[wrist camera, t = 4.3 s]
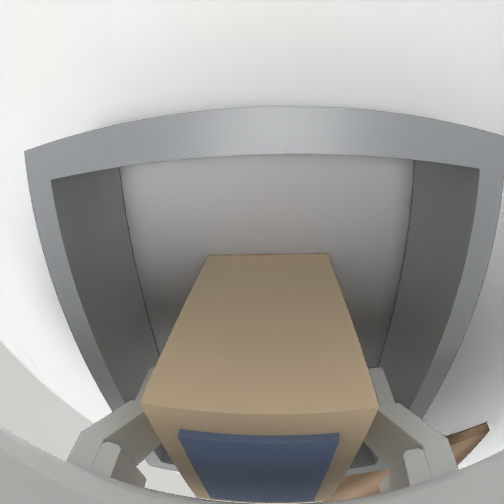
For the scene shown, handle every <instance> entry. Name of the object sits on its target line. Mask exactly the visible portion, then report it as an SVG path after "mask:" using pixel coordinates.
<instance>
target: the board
mask: <svg viewBox="0 0 504 504" xmlns="http://www.w3.org/2000/svg"><path fill="white" fill-rule="evenodd" d="M489 431H490V429H489V427H488V425H487V423H484V424H482V425H479V426H476V427H474V428H471V429H468V430H466V431H463V432H460V433H457V434H454V435H451V436H448V437H446V438H447V439H448V441H449V444H450V446H451V449H452V452H453V455H454V458H455V461H456V464H457V465H458V464H459V463H460V462H461V461H462V460H463V459H464V458H465V457H466V456H467V455H468V454H469V453H470V452H471V451H472V450H473V449H474V448H475V447H476V446H477V445H478V443H479V442H480V441H481V440H482V439H483V438H484V437H485V435H486V434H487V433H488V432H489ZM389 472H390V470H389V469H388V468H387V469H384V470H379V471H373V472H367V473H361V474H354V475H347V476H344V478H343V479H342V481H341V483H340V484H339V486H338V488H337V489H336V491H335V492H334V494H333V496H332V497H331V499H330V500H329V501H337V500H344V499H352V498H358V497H364V496H370V495H375V494H380V488H379V484H380V483H381V482H382V481H383V479H384V478H385V477H386V476H387V475H388V473H389ZM324 502H327V501H324Z"/></svg>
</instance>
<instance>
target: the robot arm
mask: <svg viewBox="0 0 504 504" xmlns="http://www.w3.org/2000/svg"><path fill="white" fill-rule="evenodd" d="M154 368H155V366H152V367H151V368H150V369H149V371H148V373H147V375H146V377H145V380H144V382H143V384H142V386H141V388H140V390H139V393H138V395H137V397H136V399H135V401H134V400H130V401H129V402H127V403H126V404H124V405H123V406H121V407H120V408H118V409H117V410H115V411H114V412H112V413H110V414H109V415H107V416H106V417H104V418H103V419H101V420H99V421H98V422H96V423H95V424H93V425H92V426H90V427H88V428H87V429H85V430H83V431H82V432H81V433H80V435H79V437H78V439H77V441H76V443H75V445H74V447H73V449H72V451H71V453H70V455H69V457H68V459H67V461H66V460H63V459H61V458H59V457H57V456H54V455H53V454H51V453H49V452H47V451H45V450H43V449H41V448H39V447H37V446H35V445H33V444H31V443H29V442H27V441H26V440H24V439H22V438H20V437H19V436H17V435H15V434H13V433H12V432H10V431H8V430H7V429H5V428H4V427H2V426H0V504H250V503H234V502H223V501H214V500H205V499H199V498H192V497H186V496H180V495H175V494H170V493H165V492H160V491H156V490H152V489H148V488H144V486H145V482H146V478H145V476H144V475H143V474H142V473H141V472H140V471H139V470H138V468H137V467H136V466H137V465H138V464H139V463H140V462H141V461H142V460H144V459H145V458H146V457H147V456H148V455H149V454H150V453H151V452H153V451H154V450H155V449H156V448H157V447H158V446H159V445H160V444H161V441H160V439H159V438H158V436H157V434H156V432H155V431H154V429H153V427H152V425H151V423H150V421H149V419H148V418H147V416H146V414H145V412H144V410H143V408H142V406H141V404H140V400H141V398H142V396H143V393H144V391H145V389H146V386H147V384H148V382H149V380H150V377H151V375H152V373H153V371H154ZM368 371H369V374H370V377H371V380H372V384H373V387H374V390H375V394H376V397H377V401H378V404H379V409H378V411H377V413H376V415H375V418H374V420H373V422H372V424H371V426H370V428H369V430H368V433H367V435H366V437H365V439H364V441H363V442H364V443H365V444H366V445H367V446H368V447H369V448H370V449H371V450H372V451H373V452H374V454H375V455H376V456H377V457H378V458H379V459H380V460H381V461H382V462H383V463H384V464H385V465H386V466H387V467H388V469H389V470H390V472H389V473H388V475H387V476H386V477H385V478H384V479H383V481H382V482H381V483H380V484H379V488H380V494H375V495H370V496H364V497H358V498H352V499H344V500H337V501H327V502H316V503H300V504H504V450H502V451H500V452H498V453H496V454H494V455H492V456H490V457H488V458H486V459H484V460H481V461H479V462H477V463H475V464H472V465H470V466H468V467H465V468H463V469H460V470H458V467H457V464H456V461H455V458H454V455H453V452H452V449H451V446H450V444H449V441H448V439H447V438H446V437H445V436H443V435H442V434H440V433H439V432H438V431H436V430H435V429H434V428H432V427H431V426H430V425H428V424H427V423H426V422H424V421H423V420H421V419H420V418H419V417H417V416H416V415H415V414H413V413H412V412H411V411H409V410H408V409H407V408H405V407H404V406H403V405H401V404H400V403H395V401H394V399H393V396H392V393H391V390H390V387H389V384H388V381H387V379H386V376H385V373H384V371H383V369H382V368H381V367H378V368H369V369H368Z"/></svg>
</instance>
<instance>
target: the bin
mask: <svg viewBox="0 0 504 504" xmlns="http://www.w3.org/2000/svg"><path fill="white" fill-rule="evenodd" d="M24 154H25V163H26V171H27V178H28V184H29V191H30V196H31V202H32V207H33V212H34V216H35V221H36V225H37V230H38V234H39V238H40V242H41V246H42V249H43V253H44V256H45V260H46V263H47V266H48V270H49V273H50V276H51V279H52V282H53V285H54V288H55V291H56V294H57V297H58V299H59V302H60V305H61V307H62V310H63V313H64V315H65V318H66V320H67V323H68V325H69V327H70V330H71V332H72V334H73V337H74V339H75V341H76V343H77V346H78V348H79V350H80V352H81V354H82V356H83V358H84V360H85V362H86V364H87V366H88V368H89V370H90V372H91V374H92V376H93V378H94V380H95V382H96V384H97V386H98V387H99V389H100V391H101V393H102V395H103V396H104V398H105V400H106V402H107V403H108V405H109V407H110V408H111V410H112V412H114V411H115V410H117V409H118V408H120V407H121V406H123V405H124V404H126V403H127V402H129V401H130V400H134V401H135V399H136V397H137V395H138V393H139V390H140V388H141V386H142V384H143V382H144V380H145V377H146V375H147V373H148V371H149V369H150V368H151V367H152V366H156V364H157V362H158V359H159V357H160V356H159V353H158V349H157V346H156V343H155V339H154V336H153V333H152V329H151V326H150V322H149V319H148V315H147V311H146V307H145V304H144V300H143V296H142V292H141V287H140V283H139V279H138V275H137V270H136V266H135V261H134V256H133V252H132V247H131V241H130V236H129V231H128V225H127V219H126V213H125V207H124V201H123V194H122V187H121V179H120V171H119V167H123V166H130V165H137V164H145V163H153V162H161V161H170V160H180V159H191V158H203V157H217V156H234V155H258V154H337V155H360V156H376V157H390V158H401V159H412V160H414V179H413V192H412V203H411V213H410V221H409V229H408V236H407V243H406V250H405V256H404V262H403V267H402V273H401V278H400V283H399V288H398V293H397V297H396V302H395V306H394V311H393V315H392V319H391V323H390V327H389V330H388V334H387V338H386V341H385V345H384V348H383V352H382V355H381V359H380V362H379V365H378V367H381V368H382V369H383V371H384V373H385V376H386V379H387V381H388V384H389V387H390V390H391V393H392V396H393V399H394V401H395V403H400V404H401V405H403V406H404V407H405V408H407V409H408V410H409V411H411V412H412V413H413V414H415V415H416V416H417V417H419V418H420V419H422V418H423V416H424V414H425V413H426V411H427V409H428V408H429V406H430V404H431V403H432V401H433V399H434V397H435V396H436V394H437V392H438V390H439V388H440V386H441V384H442V383H443V381H444V379H445V377H446V375H447V373H448V371H449V369H450V367H451V365H452V362H453V360H454V358H455V356H456V354H457V352H458V349H459V347H460V345H461V342H462V340H463V338H464V335H465V333H466V330H467V328H468V325H469V323H470V320H471V317H472V315H473V312H474V309H475V306H476V303H477V300H478V297H479V294H480V291H481V288H482V285H483V281H484V278H485V274H486V271H487V267H488V263H489V259H490V255H491V251H492V247H493V242H494V238H495V233H496V228H497V222H498V217H499V210H500V204H501V197H502V188H503V179H504V136H501V135H498V134H494V133H491V132H487V131H484V130H480V129H476V128H472V127H468V126H464V125H460V124H455V123H451V122H446V121H441V120H436V119H430V118H425V117H419V116H413V115H406V114H399V113H391V112H383V111H374V110H364V109H352V108H336V107H310V106H272V107H246V108H230V109H218V110H207V111H198V112H189V113H181V114H174V115H167V116H161V117H155V118H149V119H143V120H138V121H132V122H127V123H123V124H118V125H113V126H109V127H105V128H100V129H96V130H92V131H88V132H84V133H81V134H77V135H73V136H70V137H66V138H63V139H60V140H56V141H53V142H50V143H47V144H44V145H41V146H38V147H35V148H32V149H29V150H26V151H24ZM145 460H146V462H147V463H148V464H149V465H150V466H153V467H158V468H163V469H167V470H173V471H178V469H177V468H176V466H175V464H174V463H173V461H172V460H171V458H170V456H169V455H168V453H167V451H166V450H165V448H164V446H163V445H162V443H161V444H160V445H159V446H158V447H157V448H156V449H155V450H154V451H153V452H151V453H150V454H149V455H148V456H147V457H146V458H145ZM387 468H388V467H387V466H386V465H385V464H384V463H383V462H382V461H381V460H380V459H379V458H378V457H377V456H376V455H375V454H374V452H373V451H372V450H371V449H370V448H369V447H368V446H367V445H366V444H365V443H364V442H363V443H362V445H361V447H360V449H359V450H358V452H357V454H356V456H355V458H354V460H353V462H352V464H351V465H350V467H349V469H348V471H347V472H346V474H345V476H347V475H354V474H361V473H367V472H373V471H379V470H384V469H387ZM178 472H179V471H178Z"/></svg>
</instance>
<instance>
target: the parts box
mask: <svg viewBox="0 0 504 504" xmlns="http://www.w3.org/2000/svg"><path fill="white" fill-rule="evenodd" d="M140 404H141V406H142V408H143V410H144V412H145V414H146V416H147V418H148V419H149V421H150V423H151V425H152V427H153V429H154V431H155V432H156V434H157V436H158V438H159V439H160V441H161V443H162V445H163V446H164V448H165V450H166V451H167V453H168V455H169V456H170V458H171V460H172V461H173V463H174V464H175V466H176V468H177V469H178V471H179V472H180V474H181V475H182V477H183V478H184V480H185V481H186V483H187V484H188V486H189V487H190V489H191V490H192V491H193V493H194V494H195V496H196V497H198V498H205V499H212V500H213V499H214V500H221V501H232V502H247V503H305V502H319V501H329V500H330V499H331V497H332V496H333V494H334V492H335V491H336V489H337V488H338V486H339V484H340V483H341V481H342V479H343V478H344V476H345V474H346V472H347V471H348V469H349V467H350V465H351V464H352V462H353V460H354V458H355V456H356V454H357V452H358V450H359V449H360V447H361V445H362V443H363V441H364V439H365V437H366V435H367V433H368V430H369V428H370V426H371V424H372V422H373V420H374V418H375V415H376V413H377V411H378V409H379V404H378V401H377V397H376V394H375V390H374V387H373V384H372V380H371V377H370V374H369V371H368V367H367V364H366V361H365V358H364V355H363V352H362V349H361V346H360V342H359V339H358V337H357V334H356V331H355V328H354V325H353V322H352V319H351V316H350V313H349V310H348V308H347V305H346V302H345V299H344V297H343V294H342V291H341V289H340V286H339V283H338V281H337V278H336V275H335V273H334V270H333V267H332V265H331V262H330V260H329V257H328V255H327V254H260V255H208V257H207V259H206V261H205V263H204V265H203V267H202V269H201V271H200V273H199V275H198V277H197V279H196V281H195V283H194V285H193V287H192V289H191V291H190V293H189V295H188V297H187V300H186V302H185V304H184V306H183V308H182V310H181V312H180V314H179V316H178V318H177V321H176V323H175V325H174V327H173V329H172V331H171V333H170V336H169V338H168V340H167V342H166V344H165V346H164V349H163V351H162V353H161V355H160V357H159V359H158V362H157V364H156V366H155V368H154V371H153V373H152V375H151V377H150V380H149V382H148V384H147V386H146V389H145V391H144V393H143V396H142V398H141V400H140Z"/></svg>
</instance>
